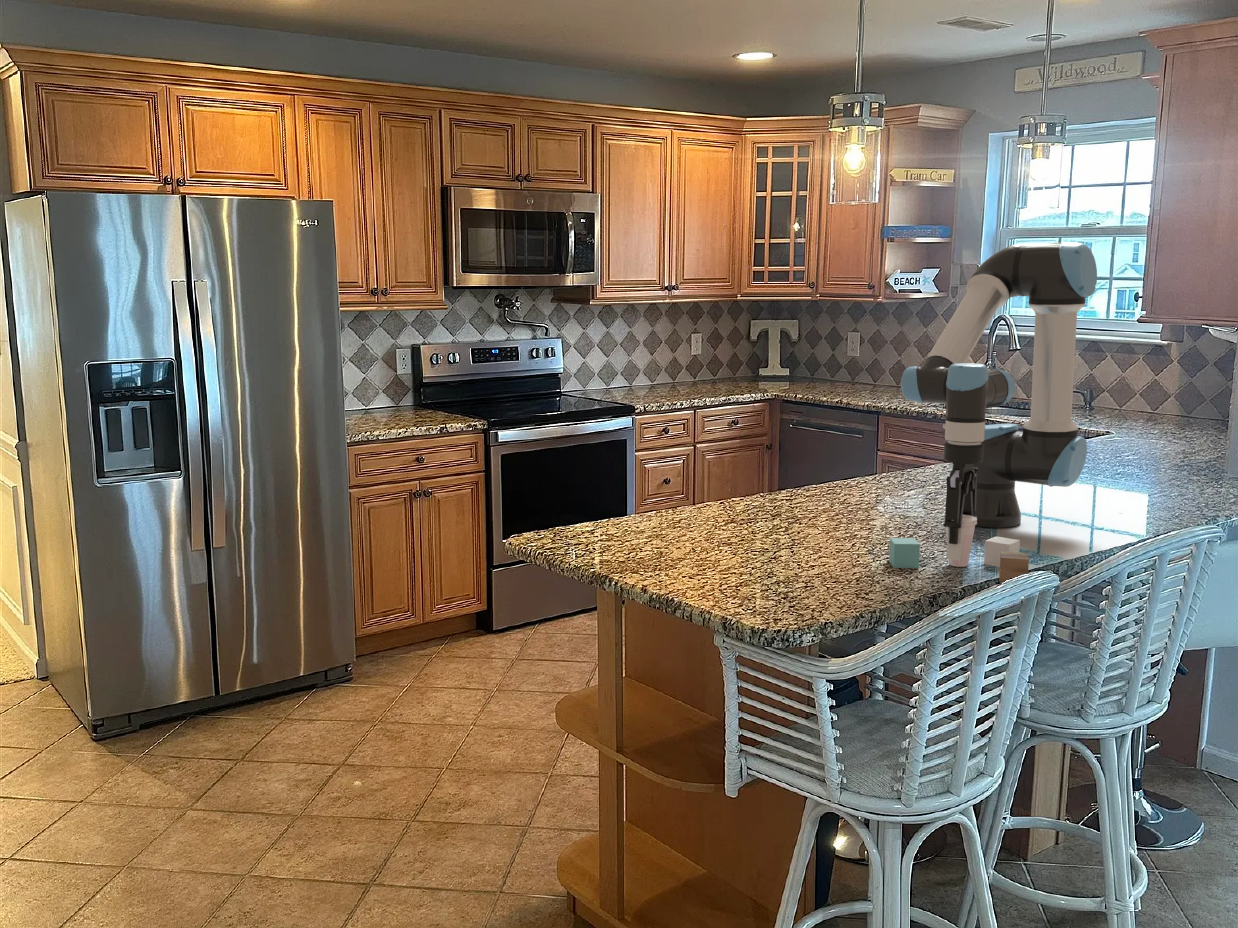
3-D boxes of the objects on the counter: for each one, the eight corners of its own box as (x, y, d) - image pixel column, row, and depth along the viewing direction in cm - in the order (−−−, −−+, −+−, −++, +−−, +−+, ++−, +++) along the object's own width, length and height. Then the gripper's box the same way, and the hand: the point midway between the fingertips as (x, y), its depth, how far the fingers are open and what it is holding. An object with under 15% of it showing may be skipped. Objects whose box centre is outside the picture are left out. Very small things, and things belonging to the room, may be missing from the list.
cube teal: (888, 561, 220) (889, 537, 219) (913, 561, 220) (914, 538, 219) (893, 568, 215) (894, 543, 214) (918, 568, 215) (919, 544, 214)
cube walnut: (999, 576, 209) (1000, 551, 208) (1026, 578, 207) (1028, 553, 207) (999, 583, 204) (1000, 557, 203) (1027, 585, 203) (1029, 559, 202)
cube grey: (994, 559, 221) (996, 536, 220) (1018, 564, 218) (1020, 540, 217) (984, 564, 218) (985, 540, 217) (1007, 568, 214) (1009, 544, 213)
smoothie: (937, 565, 216) (939, 497, 214) (949, 558, 221) (951, 491, 218) (968, 570, 212) (971, 501, 210) (979, 563, 217) (983, 495, 215)
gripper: (959, 434, 222) (954, 542, 226) (930, 447, 206) (925, 563, 210) (996, 437, 218) (990, 547, 222) (969, 450, 202) (963, 568, 206)
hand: (958, 555), depth 216 cm, fingers closed on smoothie, 6 cm apart
